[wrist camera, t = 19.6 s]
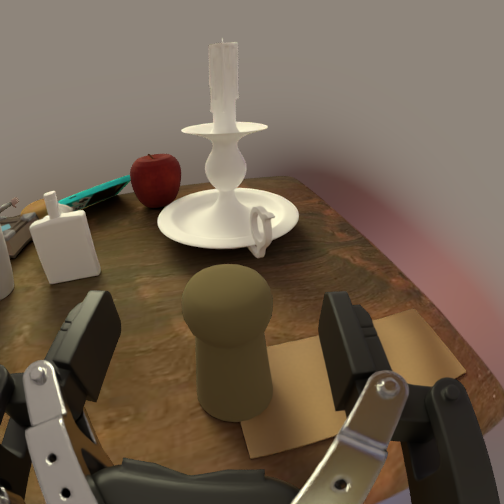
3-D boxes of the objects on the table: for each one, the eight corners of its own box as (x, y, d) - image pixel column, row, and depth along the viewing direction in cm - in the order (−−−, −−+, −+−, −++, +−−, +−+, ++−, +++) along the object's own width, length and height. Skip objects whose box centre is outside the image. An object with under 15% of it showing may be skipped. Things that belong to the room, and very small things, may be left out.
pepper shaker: (210, 431, 18) (182, 333, 13) (188, 371, 23) (162, 262, 17) (286, 406, 20) (303, 299, 14) (255, 352, 25) (255, 242, 19)
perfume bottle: (101, 267, 37) (80, 183, 30) (100, 275, 35) (76, 188, 29) (51, 276, 34) (25, 197, 28) (48, 285, 33) (20, 203, 27)
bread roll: (41, 231, 47) (70, 209, 55) (36, 214, 45) (66, 193, 53) (16, 230, 48) (43, 209, 56) (11, 214, 46) (39, 195, 54)
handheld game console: (57, 200, 43) (59, 207, 43) (130, 173, 53) (133, 179, 54) (52, 215, 50) (54, 221, 50) (115, 190, 61) (117, 195, 61)
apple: (185, 193, 59) (181, 145, 53) (182, 212, 51) (176, 156, 45) (140, 198, 57) (133, 151, 52) (130, 217, 49) (121, 163, 44)
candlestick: (180, 308, 30) (149, 12, 16) (154, 216, 50) (138, 54, 35) (342, 265, 37) (364, 33, 22) (262, 197, 56) (263, 50, 42)
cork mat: (250, 459, 17) (250, 458, 17) (223, 356, 25) (223, 354, 25) (465, 373, 21) (466, 371, 21) (413, 309, 29) (414, 307, 29)
